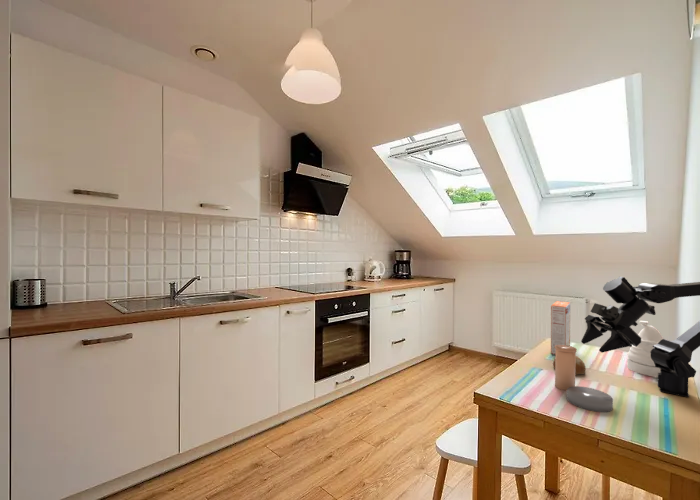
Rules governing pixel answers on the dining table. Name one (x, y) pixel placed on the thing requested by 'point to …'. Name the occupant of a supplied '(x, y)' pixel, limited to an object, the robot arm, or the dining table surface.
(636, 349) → the honey pot
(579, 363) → the bread roll
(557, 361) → the tan cylindrical canister
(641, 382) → the dining table surface
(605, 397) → the round gray base plate
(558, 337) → the cracker box
